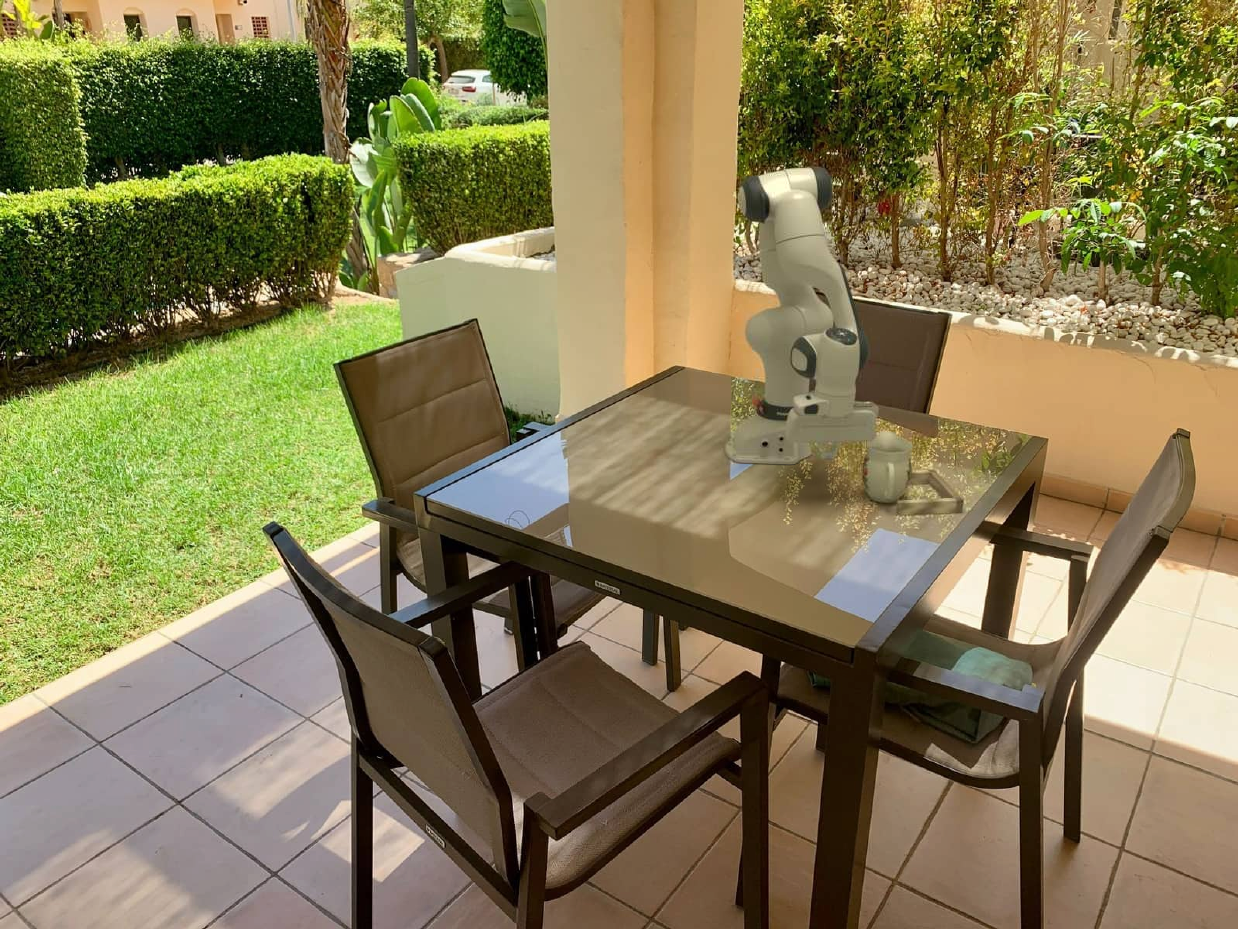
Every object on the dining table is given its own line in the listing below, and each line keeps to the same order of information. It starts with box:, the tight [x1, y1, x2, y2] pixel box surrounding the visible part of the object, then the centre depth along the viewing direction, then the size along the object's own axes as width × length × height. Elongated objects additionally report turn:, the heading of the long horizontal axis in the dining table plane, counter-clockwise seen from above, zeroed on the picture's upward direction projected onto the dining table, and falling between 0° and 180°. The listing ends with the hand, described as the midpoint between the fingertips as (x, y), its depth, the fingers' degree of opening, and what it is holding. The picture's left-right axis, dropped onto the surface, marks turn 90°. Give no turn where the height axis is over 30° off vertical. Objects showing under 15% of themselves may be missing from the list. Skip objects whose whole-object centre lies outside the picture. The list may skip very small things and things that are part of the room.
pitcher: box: [861, 429, 913, 504], centre depth 213 cm, size 11×18×14 cm, turn 170°
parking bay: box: [895, 469, 965, 516], centre depth 215 cm, size 14×18×3 cm
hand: (827, 458), depth 212 cm, fingers closed
